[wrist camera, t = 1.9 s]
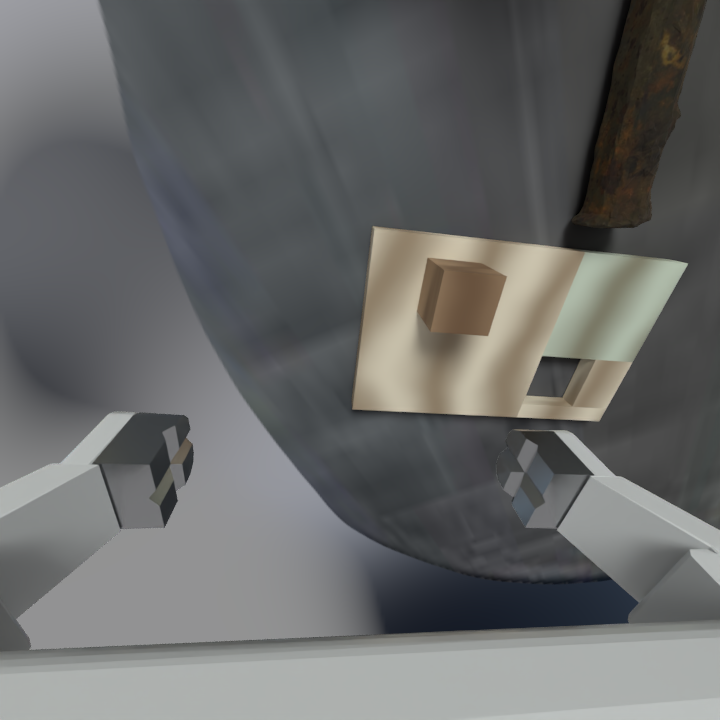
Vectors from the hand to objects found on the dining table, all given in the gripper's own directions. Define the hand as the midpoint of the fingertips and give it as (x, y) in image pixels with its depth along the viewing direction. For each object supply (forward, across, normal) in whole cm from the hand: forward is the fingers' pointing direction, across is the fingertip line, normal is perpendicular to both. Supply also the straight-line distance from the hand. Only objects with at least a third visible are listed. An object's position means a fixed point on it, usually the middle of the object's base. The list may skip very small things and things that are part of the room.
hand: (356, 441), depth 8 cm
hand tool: (+19, -16, -15) cm, 29 cm away
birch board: (+18, -14, +4) cm, 23 cm away
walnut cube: (+17, -8, 0) cm, 19 cm away
